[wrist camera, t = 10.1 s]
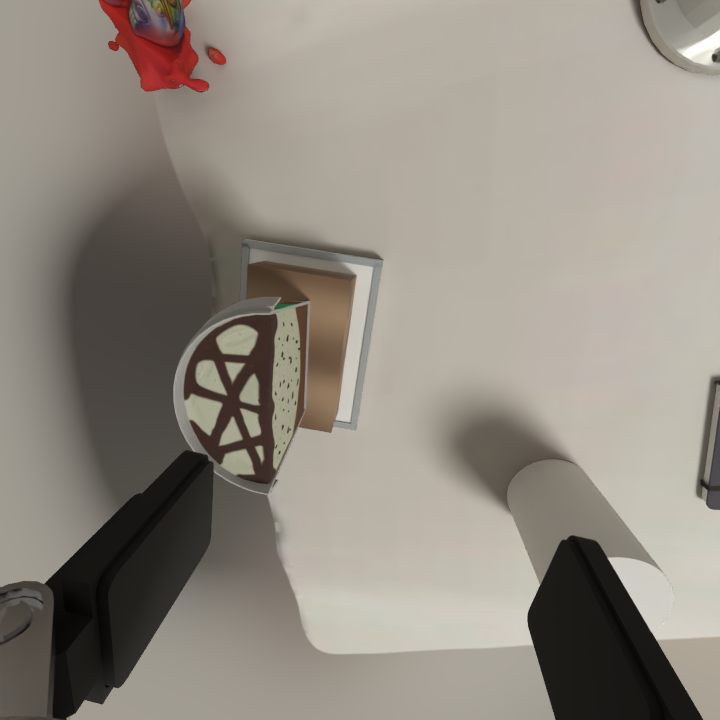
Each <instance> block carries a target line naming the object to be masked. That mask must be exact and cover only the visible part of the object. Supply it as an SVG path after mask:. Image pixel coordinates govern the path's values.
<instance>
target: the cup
mask: <svg viewBox="0 0 720 720" xmlns="http://www.w3.org/2000/svg"><path fill="white" fill-rule="evenodd" d="M507 502H508V506H509V508H510V511H511V513H512V516H513V518H514V521H515V523H516V526H517V528H518V531H519V533H520V536H521V538H522V540H523V543H524V545H525V548H526V550H527V553H528V555H529V558H530V560H531V563H532V565H533V568H534V570H535V573H536V575H537V578H538V580H539V583H540V585H541V582H542V580H543V578H544V576H545V574H546V572H547V569H548V567H549V565H550V563H551V561H552V558H553V556H554V554H555V552H556V550H557V548H558V545H559V543H560V542H561V540H563V539H564V540H567V538H568V537H569V536H571V535H574V536H579V537H583V538H588V539H592V540H595V541H597V542H598V543H599V544H600V546H601V548H602V549H603V551H604V553H605V554H606V556H607V558H608V559H609V561H610V563H611V565H612V566H613V568H614V570H615V571H616V573H617V575H618V576H619V578H620V580H621V581H622V583H623V585H624V587H625V588H626V590H627V592H628V593H629V595H630V597H631V598H632V600H633V602H634V603H635V605H636V607H637V609H638V610H639V612H640V614H641V615H642V617H643V619H644V620H645V622H646V624H647V625H648V627H649V629H650V631H651V632H652V633H653V632H654V631H656V630H657V629H658V628H659V627H661V626H662V625H663V624H664V622H665V621H666V620H667V619H668V617H669V616H670V614H671V612H672V609H673V606H674V601H675V596H674V590H673V587H672V585H671V583H670V581H669V579H668V578H667V577H666V575H665V574H664V573H663V572H662V570H661V569H660V568H659V566H658V565H657V564H656V563H655V561H654V560H653V559H652V558H651V556H650V555H649V554H648V552H647V551H646V550H645V549H644V547H643V546H642V545H641V543H640V542H639V541H638V540H637V538H636V537H635V536H634V534H633V533H632V532H631V531H630V529H629V528H628V527H627V525H626V524H625V523H624V522H623V520H622V519H621V518H620V517H619V515H618V514H617V513H616V511H615V510H614V509H613V508H612V506H611V505H610V504H609V502H608V501H607V500H606V499H605V497H604V496H603V495H602V493H601V492H600V491H599V490H598V488H597V487H596V486H595V484H594V483H593V482H592V481H591V479H590V478H589V477H588V476H587V474H586V473H585V472H584V471H583V470H582V469H581V468H580V467H578V466H577V465H575V464H573V463H571V462H568V461H564V460H558V459H547V460H541V461H537V462H534V463H532V464H529V465H527V466H526V467H524V468H523V469H521V470H520V471H519V472H518V473H517V474H516V475H515V476H514V477H513V479H512V480H511V482H510V484H509V486H508V490H507Z"/></svg>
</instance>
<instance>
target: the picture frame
mask: <svg viewBox="0 0 720 720" xmlns="http://www.w3.org/2000/svg"><path fill="white" fill-rule="evenodd" d="M262 261H269V262H275V263H282V264H288V265H295V266H301V267H307V268H314V269H320V270H326V271H333V272H339V273H345V274H352V275H357V278H356V285H355V292H354V300H353V307H352V314H351V321H350V329H349V336H348V343H347V350H346V357H345V365H344V372H343V379H342V386H341V394H340V401H339V408H338V414H337V416H336V419H335V422H334V425H333V427H339V428H345V429H350V430H356V429H357V424H358V418H359V412H360V405H361V399H362V393H363V386H364V380H365V374H366V368H367V361H368V355H369V349H370V342H371V336H372V330H373V323H374V317H375V311H376V304H377V298H378V292H379V285H380V279H381V273H382V266H383V260H379V259H373V258H367V257H360V256H354V255H347V254H341V253H334V252H328V251H321V250H315V249H308V248H302V247H296V246H289V245H283V244H276V243H270V242H263V241H257V240H250V239H242V260H241V283H240V302H241V301H244V300H246V288H247V267H248V264H252V263H257V262H262Z"/></svg>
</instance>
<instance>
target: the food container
mask: <svg viewBox="0 0 720 720" xmlns="http://www.w3.org/2000/svg"><path fill="white" fill-rule="evenodd" d="M280 300H281V297H259V298H253V299H247V300H244V301H241V302H238V303H235V304H232V305H230V306H229V307H227V308H225V309H223V310H221V311H219V312H218V313H217V314H215V315H214V316H213V317H212V318H210V319H209V320H208V321H207V322H206V323H205V324H204V325H203V326H202V328H201V329H200V330H199V331H198V332H197V334H195V336H194V337H193V338H192V339H191V340H190V342H189V343H188V345H187V347H186V348H185V350H184V352H183V353H182V356H181V359H180V361H179V364H178V367H177V371H176V376H175V381H174V406H175V413H176V416H177V420H178V423H179V426H180V429H181V431H182V433H183V435H184V437H185V439H186V441H187V442H188V444H189V445H190V447H191V448H192V450H193V451H194V452H197V453H202V454H206V455H208V458H209V461H212V462H213V463H214V472H215V473H216V474H217V475H219V476H221V477H222V478H224V479H225V480H227V481H228V482H230V483H232V484H234V485H237V486H239V487H241V488H243V489H246V490H249V491H252V492H256V493H260V494H265V495H268V494H269V492H272V490H273V489H274V487H275V486H276V484H277V483H278V480H276V477H277V475H278V472H279V470H280V468H281V465H282V463H283V461H284V459H285V456H286V454H287V452H288V450H289V447H290V445H291V443H292V441H293V438H294V436H295V434H296V432H297V429H298V427H299V425H300V423H301V420H302V418H303V416H304V413H305V411H306V398H307V373H308V349H309V324H310V300H294V301H290V302H286V303H281V304H278V302H279V301H280Z"/></svg>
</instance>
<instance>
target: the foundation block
mask: <svg viewBox="0 0 720 720" xmlns="http://www.w3.org/2000/svg"><path fill="white" fill-rule="evenodd" d="M356 278H357V275H352V274H345V273H339V272H333V271H326V270H320V269H314V268H307V267H301V266H295V265H288V264H282V263H275V262H269V261H262V262H257V263H252V264H248V267H247V288H246V300H247V299H253V298H259V297H281V300H280V301H279V302H278V304H281V303H286V302H290V301H294V300H310V324H309V349H308V373H307V398H306V411H305V413H304V416H303V418H302V420H301V423H300V425H299V427H302V428H307V429H313V430H318V431H324V432H330V433H331V431H332V428H333V425H334V422H335V419H336V416H337V414H338V408H339V401H340V394H341V386H342V379H343V372H344V365H345V357H346V350H347V343H348V336H349V329H350V321H351V314H352V307H353V300H354V292H355V285H356Z"/></svg>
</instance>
